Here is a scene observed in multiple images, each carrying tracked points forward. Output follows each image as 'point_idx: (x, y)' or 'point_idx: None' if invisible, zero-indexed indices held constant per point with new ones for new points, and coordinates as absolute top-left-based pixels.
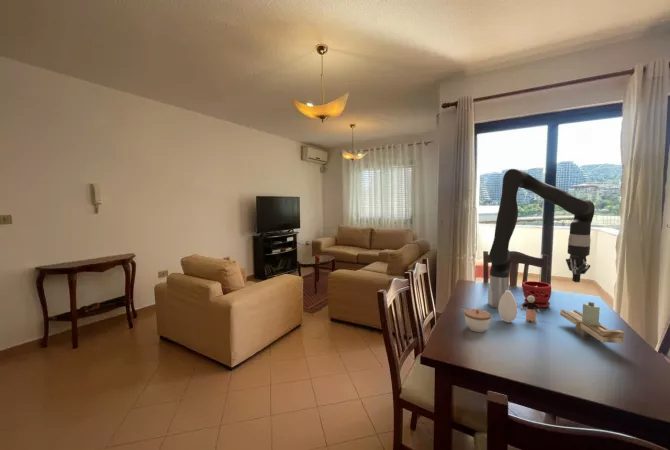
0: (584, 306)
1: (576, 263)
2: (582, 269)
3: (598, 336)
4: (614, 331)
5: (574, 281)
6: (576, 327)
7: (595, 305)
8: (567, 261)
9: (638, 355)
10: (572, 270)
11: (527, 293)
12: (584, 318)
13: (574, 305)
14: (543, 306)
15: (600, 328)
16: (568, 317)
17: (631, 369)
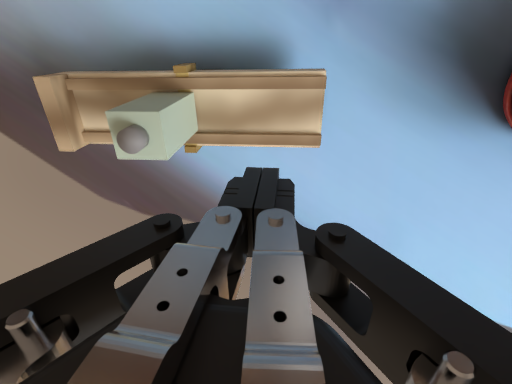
0: (152, 108)
1: (118, 338)
2: (48, 271)
3: (75, 72)
4: (51, 122)
5: (247, 167)
6: (194, 63)
7: (141, 157)
8: (484, 351)
9: (109, 161)
10: (277, 229)
11: None
12: (173, 96)
13: (495, 237)
14: (505, 88)
15: None
16: (258, 70)
17: (10, 83)
